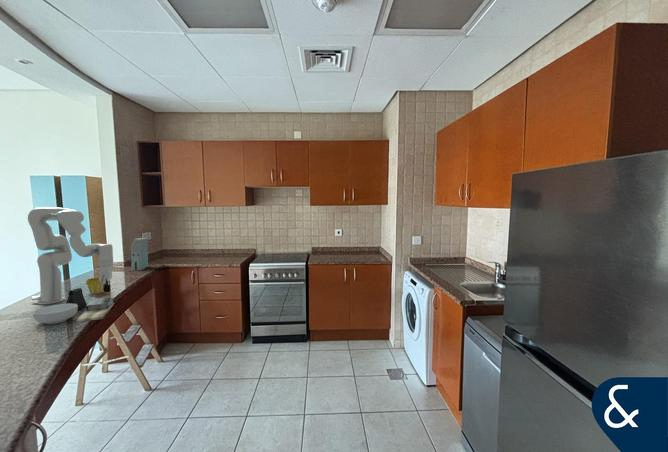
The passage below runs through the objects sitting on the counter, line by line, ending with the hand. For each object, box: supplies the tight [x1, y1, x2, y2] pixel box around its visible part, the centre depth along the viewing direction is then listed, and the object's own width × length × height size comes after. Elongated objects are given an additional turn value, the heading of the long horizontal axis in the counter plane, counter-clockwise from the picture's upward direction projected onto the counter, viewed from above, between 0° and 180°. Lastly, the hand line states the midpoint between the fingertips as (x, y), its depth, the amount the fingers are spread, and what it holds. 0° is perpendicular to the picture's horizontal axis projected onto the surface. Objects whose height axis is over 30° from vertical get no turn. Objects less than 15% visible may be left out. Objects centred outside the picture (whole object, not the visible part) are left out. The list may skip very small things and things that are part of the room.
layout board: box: [76, 301, 115, 323], centre depth 164 cm, size 11×26×1 cm, turn 27°
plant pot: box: [85, 277, 103, 295], centre depth 200 cm, size 10×10×10 cm
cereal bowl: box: [32, 303, 78, 325], centre depth 150 cm, size 17×17×7 cm
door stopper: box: [65, 287, 88, 312], centre depth 167 cm, size 9×6×12 cm, turn 93°
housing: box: [85, 297, 114, 311], centre depth 169 cm, size 10×12×3 cm
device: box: [130, 237, 149, 271], centre depth 279 cm, size 16×8×30 cm, turn 12°
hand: (107, 291), depth 180 cm, fingers closed
